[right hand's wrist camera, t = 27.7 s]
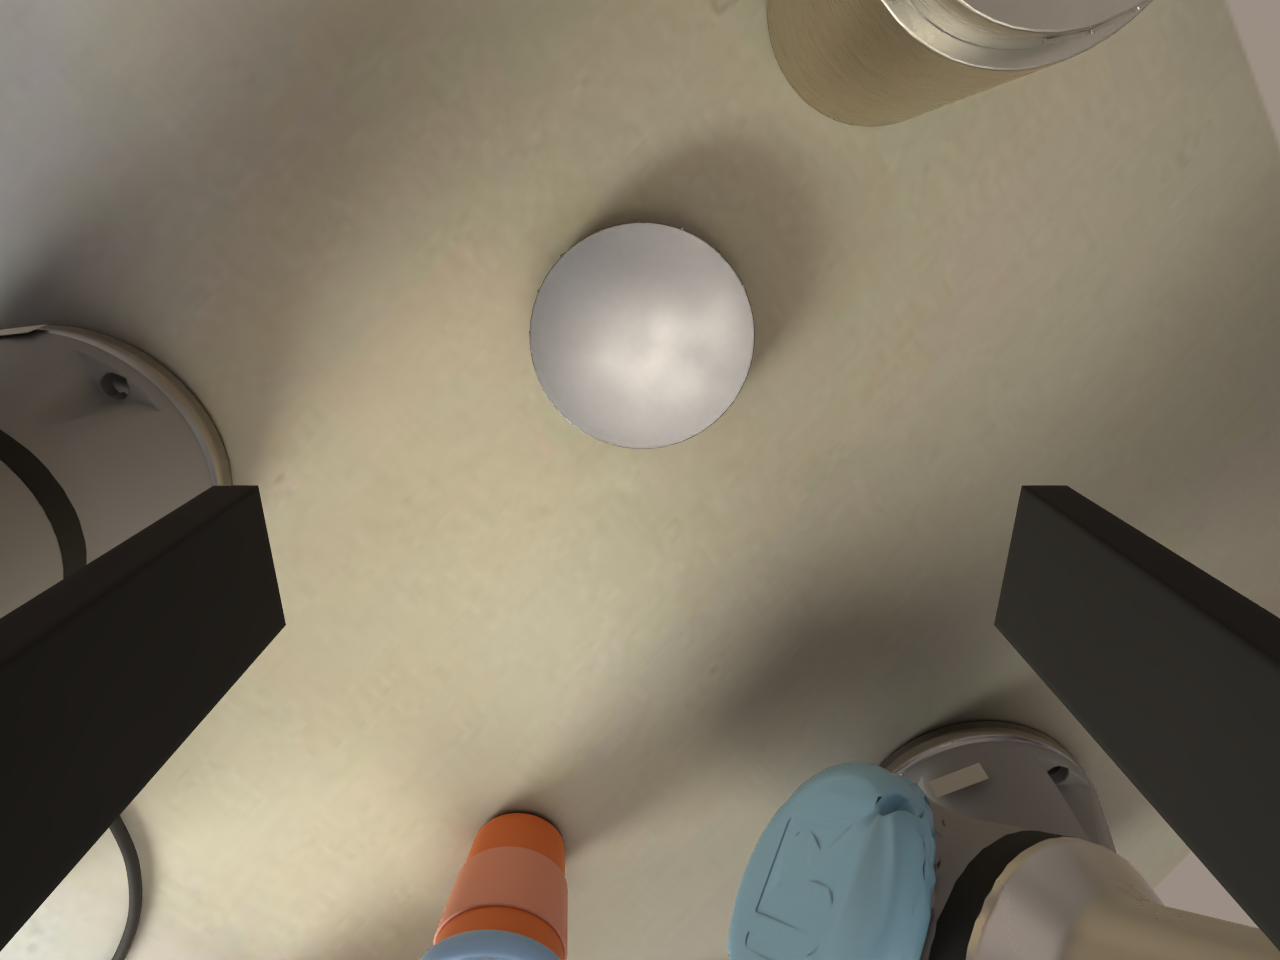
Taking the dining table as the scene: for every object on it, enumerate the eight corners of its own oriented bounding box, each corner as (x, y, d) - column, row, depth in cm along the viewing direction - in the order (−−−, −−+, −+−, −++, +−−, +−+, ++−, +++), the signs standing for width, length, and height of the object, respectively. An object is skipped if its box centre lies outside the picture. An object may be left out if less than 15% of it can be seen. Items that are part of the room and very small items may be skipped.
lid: (631, 169, 34) (630, 166, 32) (794, 323, 36) (803, 330, 34) (492, 344, 37) (483, 352, 35) (652, 476, 39) (653, 490, 37)
